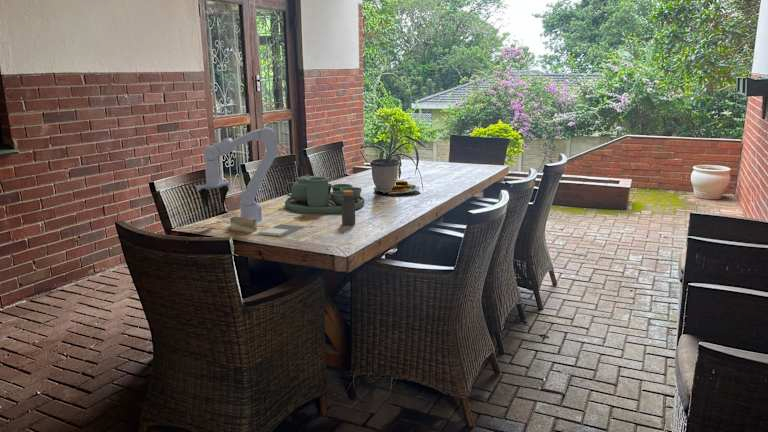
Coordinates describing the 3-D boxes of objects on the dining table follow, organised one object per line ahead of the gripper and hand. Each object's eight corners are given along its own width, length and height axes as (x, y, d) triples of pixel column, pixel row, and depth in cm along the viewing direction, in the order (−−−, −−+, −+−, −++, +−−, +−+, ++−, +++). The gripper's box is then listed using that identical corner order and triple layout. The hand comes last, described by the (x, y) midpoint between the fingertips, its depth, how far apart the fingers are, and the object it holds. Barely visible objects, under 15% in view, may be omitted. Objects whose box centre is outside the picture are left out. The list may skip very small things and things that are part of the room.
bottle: (355, 222, 270) (354, 189, 267) (355, 225, 265) (354, 192, 261) (342, 222, 270) (341, 189, 267) (341, 225, 264) (341, 192, 261)
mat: (280, 225, 266) (280, 224, 266) (306, 228, 261) (306, 226, 261) (254, 236, 248) (254, 234, 248) (281, 239, 243) (281, 237, 243)
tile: (270, 227, 254) (288, 229, 251) (270, 230, 255) (288, 232, 251) (260, 231, 248) (279, 233, 245) (260, 234, 248) (279, 236, 245)
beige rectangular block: (235, 230, 259) (234, 216, 258) (256, 232, 255) (256, 218, 254) (231, 231, 256) (230, 217, 255) (252, 233, 252) (251, 220, 251)
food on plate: (398, 199, 325) (398, 187, 323) (367, 193, 342) (366, 181, 341) (429, 192, 342) (429, 181, 341) (398, 187, 360) (398, 176, 358)
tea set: (375, 210, 298) (375, 177, 294) (296, 217, 282) (295, 182, 279) (348, 196, 333) (347, 166, 330) (277, 202, 318) (275, 171, 314)
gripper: (200, 176, 254) (203, 208, 257) (232, 173, 264) (234, 203, 267) (193, 174, 260) (196, 205, 263) (224, 171, 269) (226, 201, 272)
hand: (214, 204), depth 265 cm, fingers open, 7 cm apart
